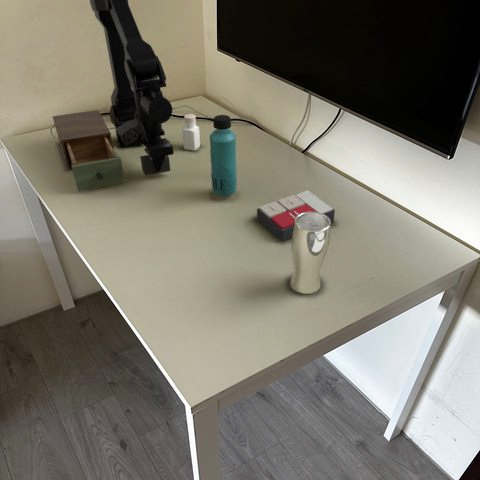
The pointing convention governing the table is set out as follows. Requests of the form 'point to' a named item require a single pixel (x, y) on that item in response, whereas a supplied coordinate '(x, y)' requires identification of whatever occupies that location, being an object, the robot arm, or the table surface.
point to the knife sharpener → (149, 166)
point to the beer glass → (309, 250)
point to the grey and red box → (291, 213)
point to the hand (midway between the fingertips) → (156, 168)
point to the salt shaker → (191, 133)
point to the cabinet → (79, 129)
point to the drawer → (94, 163)
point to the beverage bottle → (223, 157)
